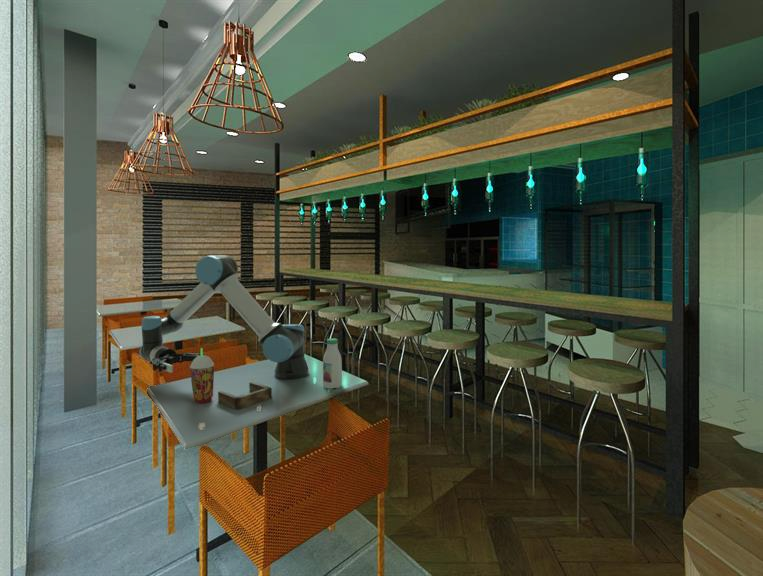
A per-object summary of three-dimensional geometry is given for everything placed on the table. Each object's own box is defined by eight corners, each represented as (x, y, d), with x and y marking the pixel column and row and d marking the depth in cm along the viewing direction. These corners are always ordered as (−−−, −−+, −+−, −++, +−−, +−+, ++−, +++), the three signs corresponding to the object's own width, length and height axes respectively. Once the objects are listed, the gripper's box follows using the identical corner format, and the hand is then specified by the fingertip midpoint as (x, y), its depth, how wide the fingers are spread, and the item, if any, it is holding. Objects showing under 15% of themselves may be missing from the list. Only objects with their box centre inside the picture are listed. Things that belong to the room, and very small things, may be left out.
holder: (252, 391, 165) (252, 381, 165) (271, 397, 158) (271, 387, 158) (218, 402, 153) (218, 391, 153) (237, 409, 146) (236, 398, 146)
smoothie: (187, 400, 155) (185, 348, 153) (209, 394, 161) (207, 344, 159) (196, 406, 149) (194, 352, 147) (219, 400, 155) (217, 348, 153)
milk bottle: (339, 382, 177) (339, 336, 175) (343, 388, 169) (343, 340, 167) (321, 384, 174) (321, 337, 172) (325, 390, 167) (324, 341, 165)
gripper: (192, 358, 182) (219, 367, 169) (131, 371, 163) (156, 382, 150) (192, 342, 182) (218, 349, 169) (130, 353, 162) (155, 362, 149)
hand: (189, 365), depth 159 cm, fingers open, 13 cm apart
